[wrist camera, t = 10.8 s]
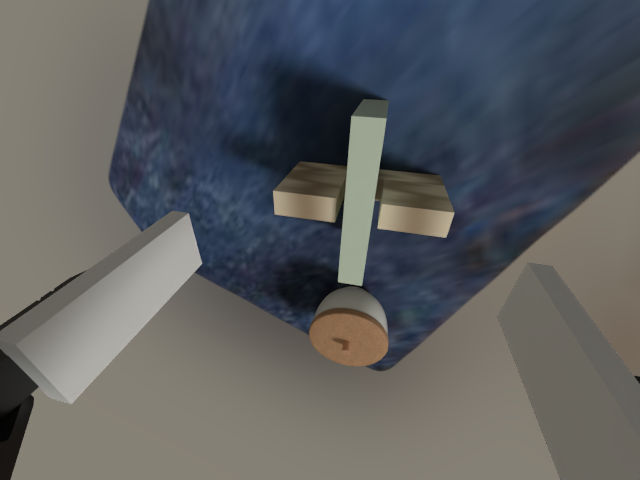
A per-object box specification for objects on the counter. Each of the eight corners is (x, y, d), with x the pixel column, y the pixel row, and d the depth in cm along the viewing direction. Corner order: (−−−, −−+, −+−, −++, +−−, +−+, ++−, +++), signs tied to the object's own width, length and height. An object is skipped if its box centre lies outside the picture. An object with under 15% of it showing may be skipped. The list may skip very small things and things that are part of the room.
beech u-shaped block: (300, 181, 35) (274, 214, 27) (300, 161, 33) (273, 190, 26) (434, 196, 32) (446, 237, 25) (440, 175, 31) (454, 212, 23)
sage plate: (363, 99, 28) (351, 116, 20) (388, 100, 28) (386, 118, 20) (350, 232, 37) (337, 282, 29) (368, 235, 37) (361, 286, 29)
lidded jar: (315, 312, 47) (300, 362, 40) (328, 265, 41) (312, 313, 33) (377, 332, 46) (373, 386, 39) (399, 287, 40) (400, 340, 33)
